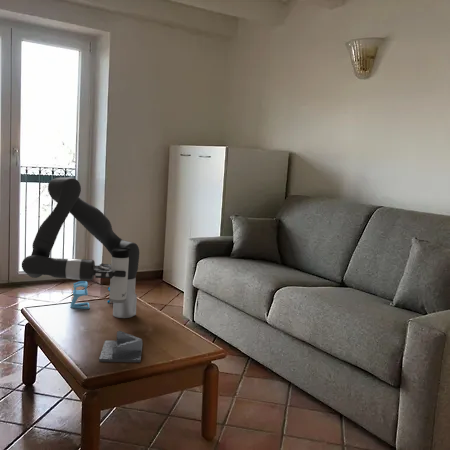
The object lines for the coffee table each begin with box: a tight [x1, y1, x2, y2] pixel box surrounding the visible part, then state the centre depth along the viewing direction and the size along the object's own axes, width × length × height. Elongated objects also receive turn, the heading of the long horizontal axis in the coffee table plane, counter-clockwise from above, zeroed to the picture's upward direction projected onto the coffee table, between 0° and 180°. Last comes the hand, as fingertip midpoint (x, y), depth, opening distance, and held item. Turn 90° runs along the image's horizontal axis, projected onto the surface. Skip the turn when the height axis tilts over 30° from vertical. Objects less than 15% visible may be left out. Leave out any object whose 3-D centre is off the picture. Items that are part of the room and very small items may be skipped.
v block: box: [98, 330, 144, 363], centre depth 186 cm, size 14×18×5 cm
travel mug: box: [108, 248, 130, 303], centre depth 191 cm, size 6×7×20 cm
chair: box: [69, 280, 90, 310], centre depth 237 cm, size 8×8×12 cm
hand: (126, 272), depth 191 cm, fingers closed on travel mug, 6 cm apart
